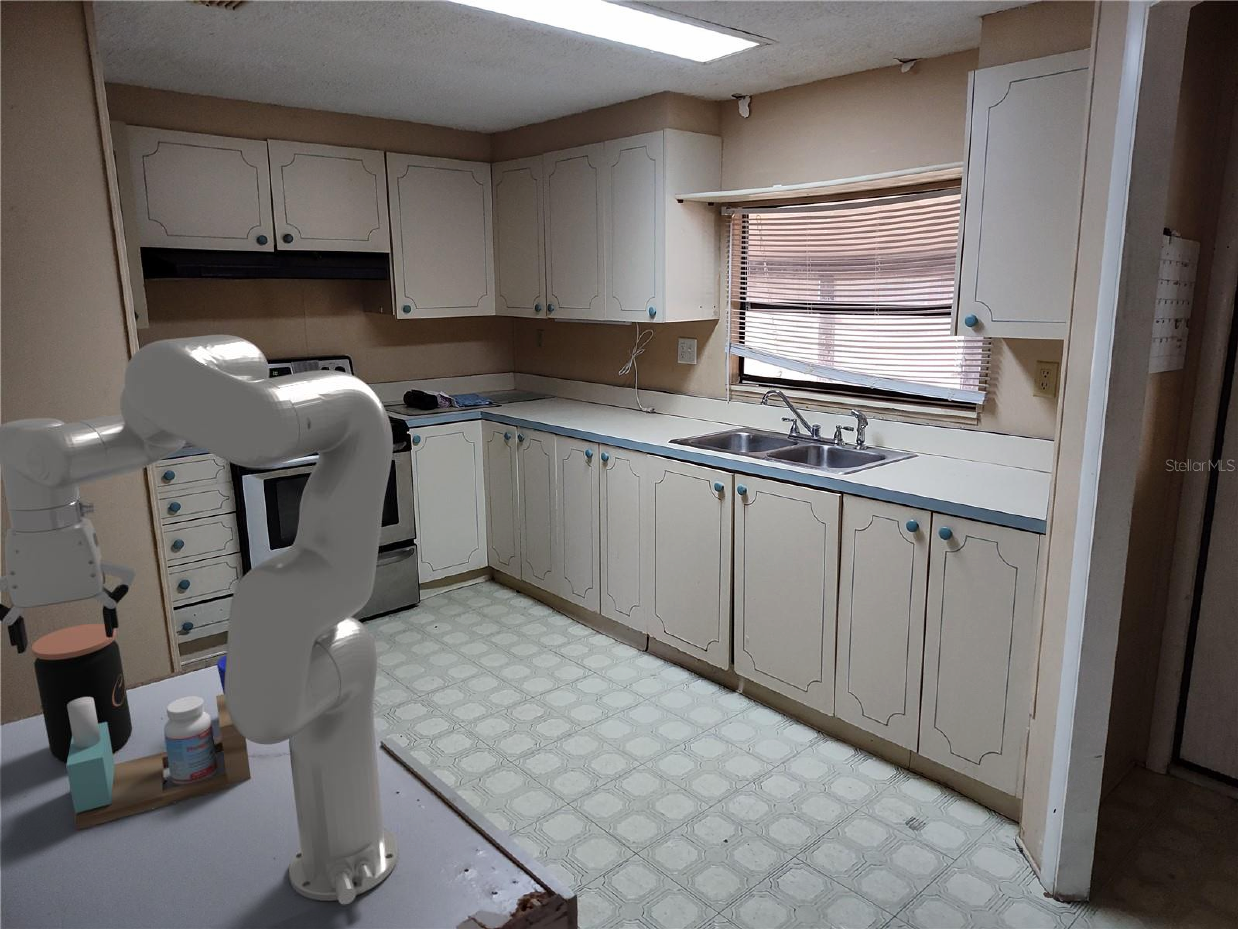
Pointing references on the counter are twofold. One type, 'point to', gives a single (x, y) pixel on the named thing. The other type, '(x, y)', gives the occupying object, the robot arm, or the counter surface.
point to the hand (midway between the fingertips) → (67, 641)
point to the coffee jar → (81, 683)
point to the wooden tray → (144, 778)
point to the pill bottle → (189, 741)
